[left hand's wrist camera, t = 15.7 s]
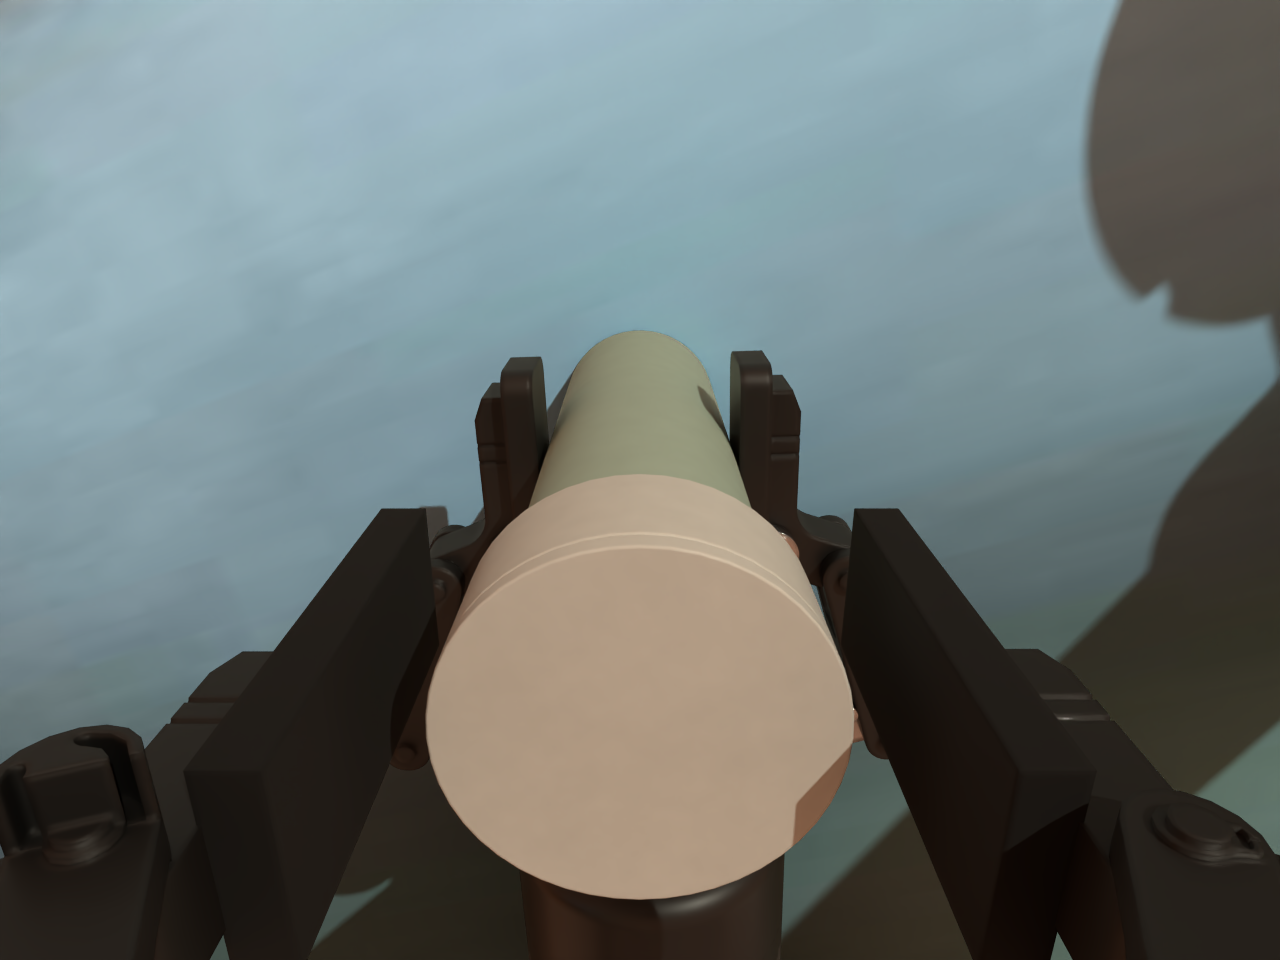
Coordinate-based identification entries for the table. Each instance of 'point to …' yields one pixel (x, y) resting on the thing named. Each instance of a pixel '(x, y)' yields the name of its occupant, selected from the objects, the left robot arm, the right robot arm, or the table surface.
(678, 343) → the jar
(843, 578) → the right robot arm
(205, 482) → the table surface
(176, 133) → the table surface
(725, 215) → the table surface
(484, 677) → the lid
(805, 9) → the table surface
